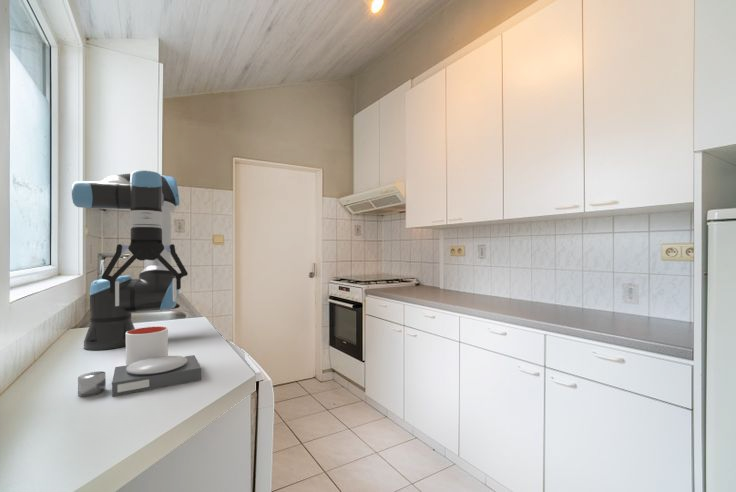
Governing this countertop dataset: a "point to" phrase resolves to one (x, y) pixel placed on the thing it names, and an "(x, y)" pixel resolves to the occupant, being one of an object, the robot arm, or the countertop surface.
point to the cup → (146, 343)
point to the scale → (155, 374)
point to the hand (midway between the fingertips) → (147, 303)
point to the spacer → (91, 384)
